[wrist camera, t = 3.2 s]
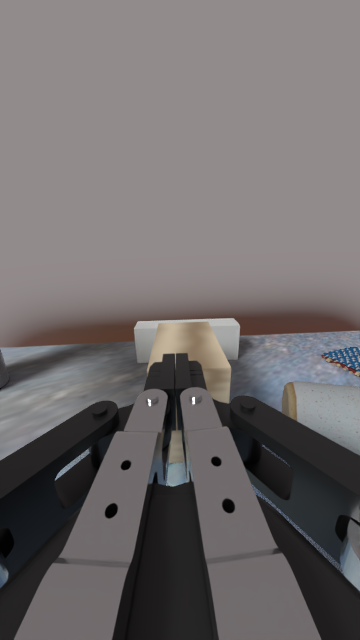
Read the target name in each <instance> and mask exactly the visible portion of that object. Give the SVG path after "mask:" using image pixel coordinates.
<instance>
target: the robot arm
mask: <svg viewBox="0 0 360 640" xmlns="http://www.w3.org/2000/svg"><path fill="white" fill-rule="evenodd" d="M8 380H9V375H8V372H7V369H6V365H5V362H4V359H3V356H2V353H1V350H0V388H1V387H2V386H4V385H5V384H6V383H7V382H8ZM176 407H177V428H178V430H181V432H182V450H183V459H184V467H185V476H186V483H184V484H181V485H178V486H174V487H170V486H166V481H167V473H168V464H169V456H170V447H171V444H170V441H171V434H172V431H176ZM262 444H263V445H264V446H266V447H267V448H269V449H270V450H271V451H273V452H274V453H276V454H277V455H278V456H280V457H281V458H283V459H284V460H285V461H286V462H287V463H288V464H289V465H290V466H291V467H289V466H288V465H287V464H285V463H284V462H283V461H281V460H280V459H278V458H277V457H276V456H274V455H273V454H271V453H270V452H269V451H267V450H266V449H265V448H263V447H262ZM88 448H89V454H88V455H87V456H86V457H84V458H83V459H82V460H81V461H79V462H78V463H77V464H76V465H74V466H73V467H72V468H71V469H69V470H68V471H67V472H66V473H64V474H63V475H62V476H61V477H59V478H58V479H57V480H56V481H55V478H56V476H57V474H58V473H59V472H60V471H61V470H62V469H63V468H64V467H65V466H66V465H68V464H69V463H70V462H71V461H73V460H74V459H75V458H77V457H78V456H79V455H80V454H82V453H83V452H84V451H86V450H87V449H88ZM251 484H253V485H254V486H255V487H256V488H257V489H258V490H259V491H260V492H261V493H262V494H263V495H265V496H266V497H267V498H268V499H269V500H270V501H271V502H272V503H273V504H274V505H276V506H277V507H278V508H279V509H280V510H281V511H282V512H283V513H284V514H285V515H287V516H288V517H289V518H290V519H291V520H292V521H293V522H294V523H295V524H296V525H298V526H299V527H300V528H301V529H302V530H303V531H304V532H305V533H306V534H307V535H309V536H310V537H311V538H312V539H313V540H314V541H315V542H316V543H317V544H318V545H320V546H321V547H322V548H323V549H324V550H325V551H326V552H327V553H328V554H329V555H330V556H332V557H333V558H334V559H335V560H336V561H337V562H338V563H339V564H340V565H341V568H342V571H343V574H344V575H343V574H342V573H341V572H340V571H339V570H337V569H336V568H335V567H334V566H333V565H332V564H331V563H330V562H329V561H328V560H327V559H326V558H325V557H324V556H323V555H322V554H321V553H320V552H319V551H318V550H317V549H316V548H315V547H314V546H313V545H312V544H311V543H310V542H309V541H308V540H307V539H306V538H305V537H304V536H303V535H301V534H300V533H299V532H298V531H297V530H296V529H295V528H294V527H293V526H292V525H291V524H290V523H289V522H288V521H287V520H286V519H285V518H284V517H283V516H282V515H281V514H280V513H279V512H278V511H277V510H276V509H275V508H274V507H272V506H271V505H270V504H269V503H267V502H266V501H265V500H263V499H262V498H260V497H259V496H257V495H255V492H254V490H253V487H252V485H251ZM0 640H360V455H358V454H356V453H354V452H352V451H350V450H349V449H347V448H345V447H343V446H341V445H340V444H338V443H336V442H334V441H332V440H330V439H329V438H327V437H325V436H323V435H321V434H319V433H318V432H316V431H314V430H312V429H310V428H308V427H307V426H305V425H303V424H301V423H299V422H297V421H296V420H294V419H292V418H290V417H288V416H287V415H285V414H283V413H281V412H279V411H277V410H276V409H274V408H272V407H270V406H268V405H266V404H265V403H263V402H261V401H259V400H257V399H255V398H253V397H249V396H238V397H235V398H234V399H232V401H231V403H230V404H229V403H223V402H220V401H217V400H215V399H213V398H212V397H211V395H210V393H209V392H208V391H207V387H206V383H205V379H204V375H203V371H202V366H201V364H200V363H199V362H198V361H197V360H196V361H189V360H188V353H176V364H175V353H171V354H163V358H162V362H154V363H153V364H152V365H151V366H150V368H149V373H148V377H147V380H146V384H145V388H144V392H142V393H141V394H139V395H138V397H137V399H136V401H135V403H134V404H132V405H130V406H126V407H123V408H119V409H118V407H117V405H116V403H114V402H112V401H101V402H97V403H95V404H93V405H91V406H89V407H88V408H86V409H84V410H83V411H81V412H79V413H78V414H76V415H74V416H73V417H71V418H70V419H68V420H66V421H65V422H63V423H61V424H60V425H58V426H56V427H55V428H53V429H52V430H50V431H48V432H47V433H45V434H43V435H42V436H40V437H38V438H37V439H35V440H34V441H32V442H30V443H29V444H27V445H25V446H24V447H22V448H20V449H19V450H17V451H15V452H14V453H12V454H11V455H9V456H7V457H6V458H4V459H2V460H1V461H0Z"/></svg>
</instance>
